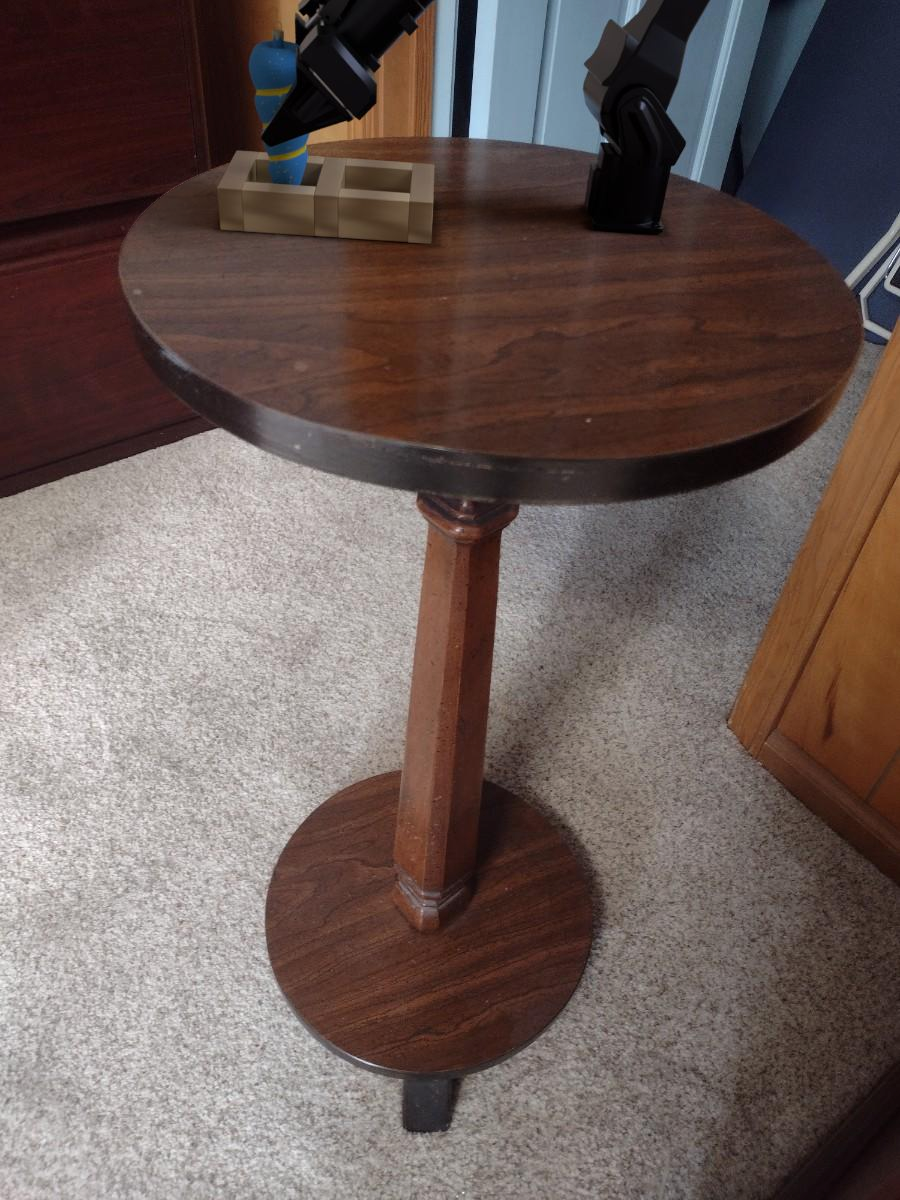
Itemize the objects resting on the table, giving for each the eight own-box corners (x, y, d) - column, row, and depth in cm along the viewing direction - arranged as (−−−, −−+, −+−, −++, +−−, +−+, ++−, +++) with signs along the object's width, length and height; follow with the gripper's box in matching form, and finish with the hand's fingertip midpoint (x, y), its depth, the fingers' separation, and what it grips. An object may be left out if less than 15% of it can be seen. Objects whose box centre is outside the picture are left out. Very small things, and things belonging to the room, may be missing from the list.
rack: (432, 203, 91) (434, 164, 89) (430, 244, 83) (433, 202, 81) (239, 189, 90) (236, 150, 88) (220, 230, 83) (216, 187, 80)
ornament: (299, 227, 84) (292, 32, 74) (247, 216, 85) (233, 21, 75) (326, 209, 88) (323, 20, 78) (276, 198, 89) (266, 11, 79)
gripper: (322, -130, 78) (197, 20, 84) (330, -100, 64) (179, 76, 70) (415, -11, 84) (292, 121, 90) (440, 39, 71) (293, 191, 76)
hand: (265, 125), depth 82 cm, fingers open, 9 cm apart
